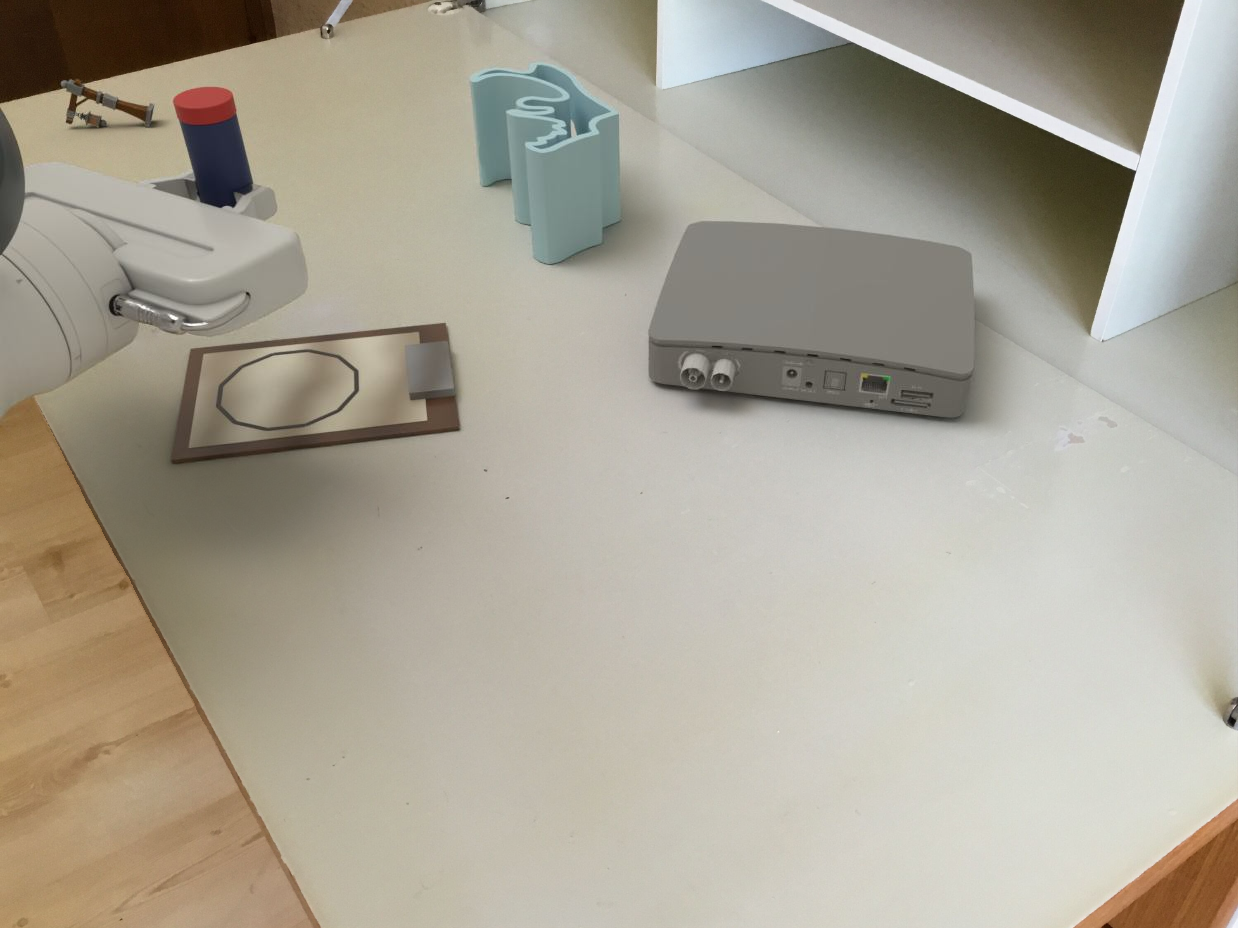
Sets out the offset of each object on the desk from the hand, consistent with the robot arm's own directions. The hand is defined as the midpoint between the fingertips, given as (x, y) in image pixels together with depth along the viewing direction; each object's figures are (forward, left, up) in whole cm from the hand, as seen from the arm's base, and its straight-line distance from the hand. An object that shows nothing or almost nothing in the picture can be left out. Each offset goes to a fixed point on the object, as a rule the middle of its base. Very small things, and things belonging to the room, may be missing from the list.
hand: (238, 188), depth 71 cm
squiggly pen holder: (+21, +22, -14) cm, 34 cm away
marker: (0, -1, -7) cm, 7 cm away
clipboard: (+2, -2, -14) cm, 14 cm away
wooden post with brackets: (-18, +47, -14) cm, 52 cm away
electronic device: (+37, -3, -14) cm, 40 cm away
